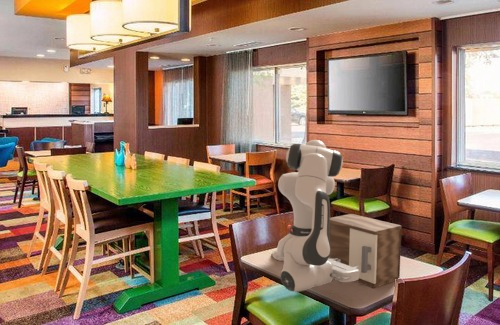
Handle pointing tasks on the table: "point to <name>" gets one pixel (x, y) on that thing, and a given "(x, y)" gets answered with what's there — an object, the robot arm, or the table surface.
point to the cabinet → (385, 244)
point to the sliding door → (363, 254)
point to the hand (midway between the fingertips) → (348, 264)
